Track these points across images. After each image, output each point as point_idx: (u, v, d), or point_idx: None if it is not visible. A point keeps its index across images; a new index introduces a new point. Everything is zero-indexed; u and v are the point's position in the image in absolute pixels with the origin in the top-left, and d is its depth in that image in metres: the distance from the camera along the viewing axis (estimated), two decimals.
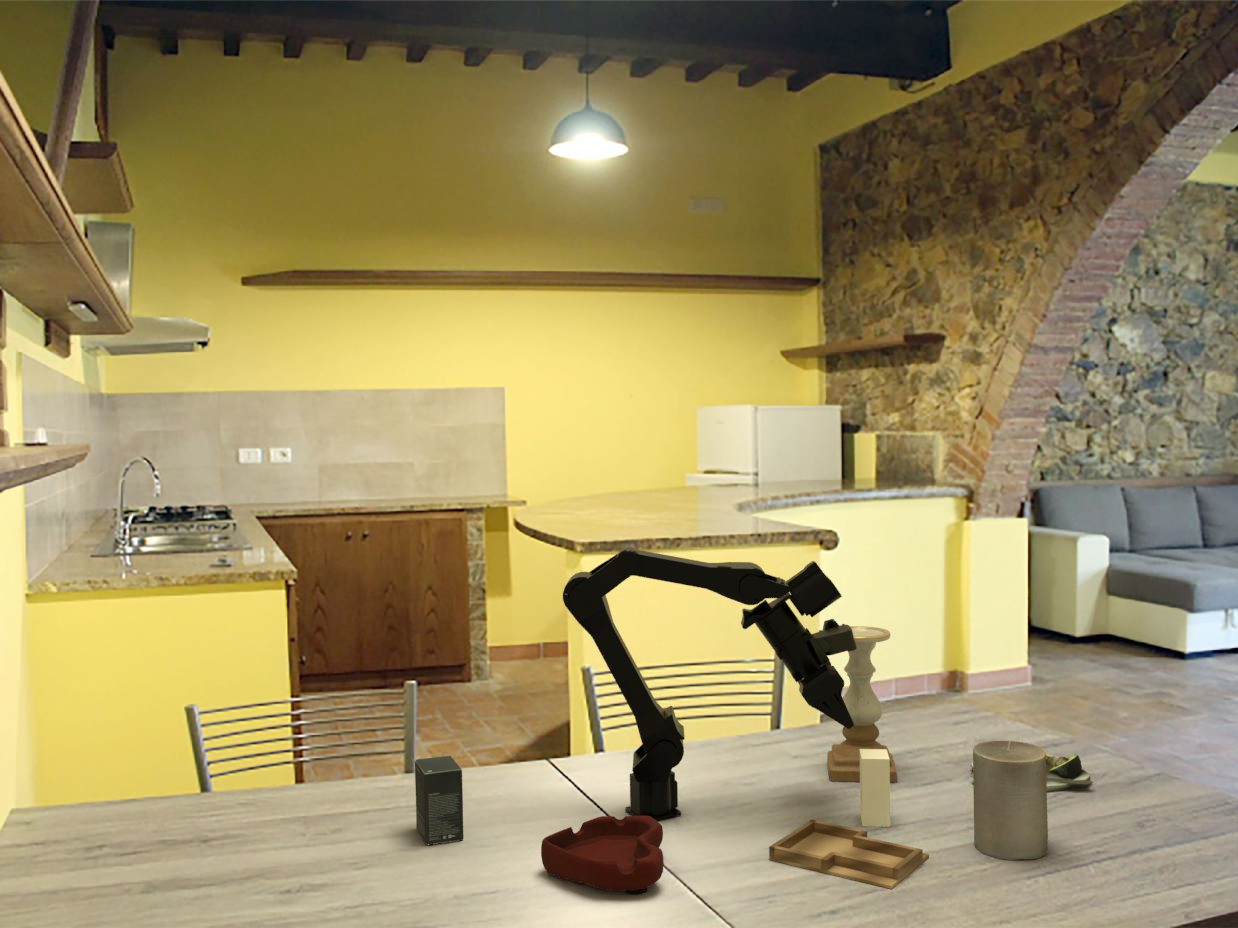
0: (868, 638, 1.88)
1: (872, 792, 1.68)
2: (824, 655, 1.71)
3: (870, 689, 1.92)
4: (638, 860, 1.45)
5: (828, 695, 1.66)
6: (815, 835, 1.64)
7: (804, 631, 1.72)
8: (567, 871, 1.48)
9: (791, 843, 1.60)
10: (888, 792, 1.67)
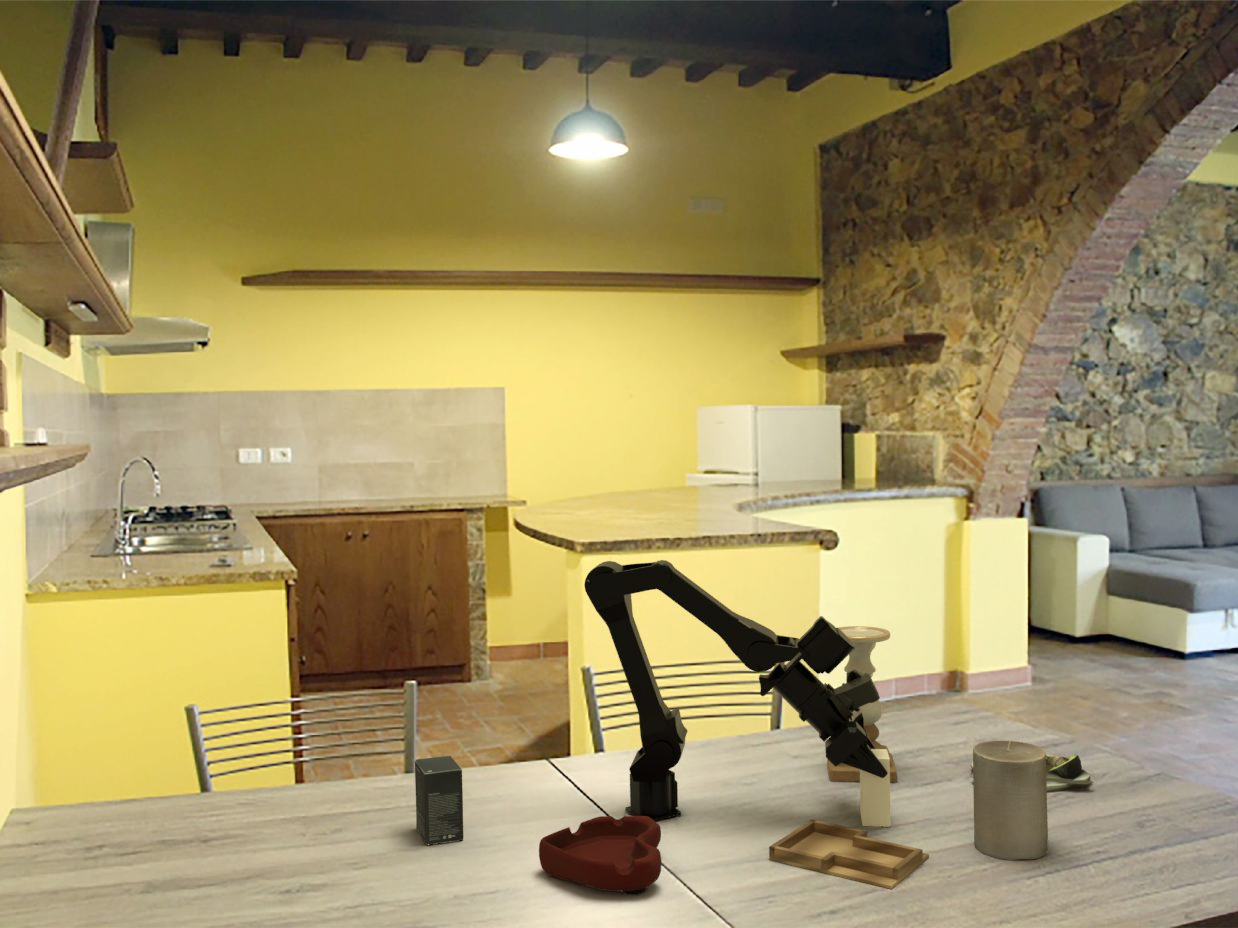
0: (868, 638, 1.88)
1: (872, 791, 1.68)
2: (847, 710, 1.67)
3: None
4: (636, 860, 1.45)
5: None
6: (815, 835, 1.64)
7: (823, 689, 1.69)
8: (565, 871, 1.48)
9: (791, 843, 1.60)
10: (888, 792, 1.67)
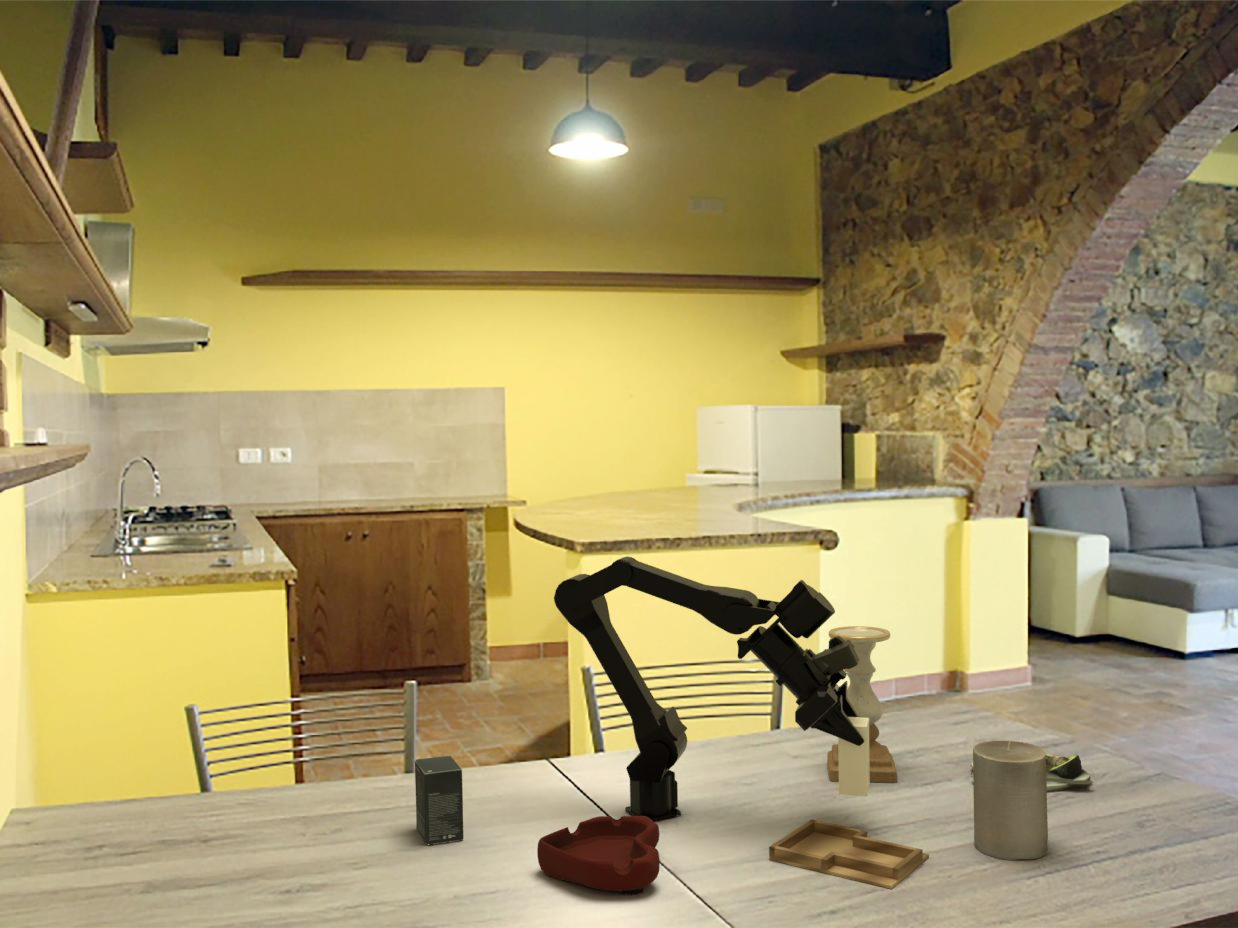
0: (868, 638, 1.88)
1: (848, 759, 1.64)
2: (823, 676, 1.64)
3: (870, 689, 1.92)
4: (634, 860, 1.45)
5: (825, 714, 1.61)
6: (815, 835, 1.64)
7: (801, 653, 1.67)
8: (563, 871, 1.48)
9: (791, 843, 1.60)
10: (865, 760, 1.64)
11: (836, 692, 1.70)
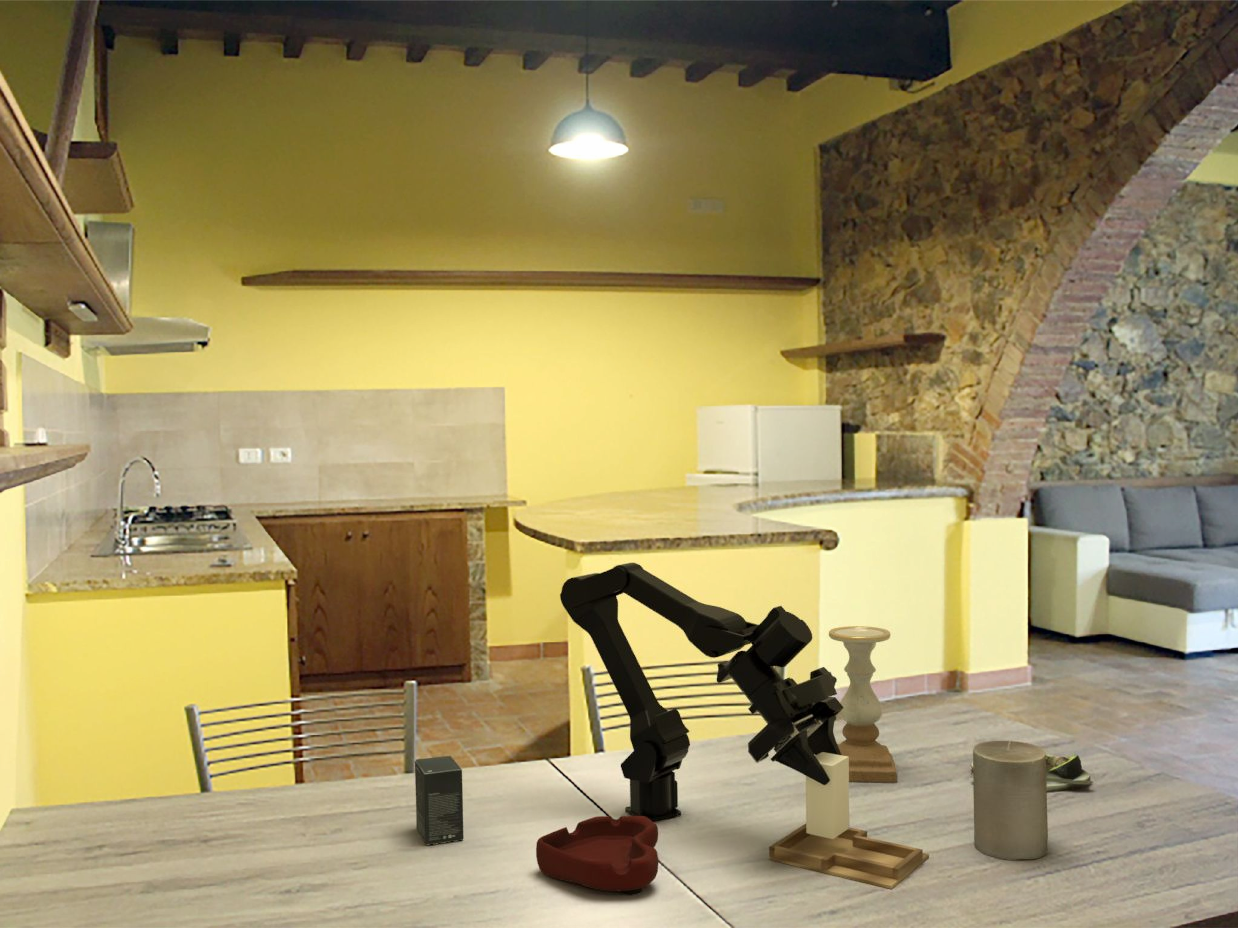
0: (868, 638, 1.88)
1: (815, 798, 1.56)
2: (790, 708, 1.57)
3: (870, 689, 1.92)
4: (633, 860, 1.45)
5: (783, 748, 1.54)
6: (815, 835, 1.64)
7: (774, 682, 1.60)
8: (562, 871, 1.48)
9: (791, 843, 1.60)
10: (831, 801, 1.54)
11: (819, 726, 1.62)
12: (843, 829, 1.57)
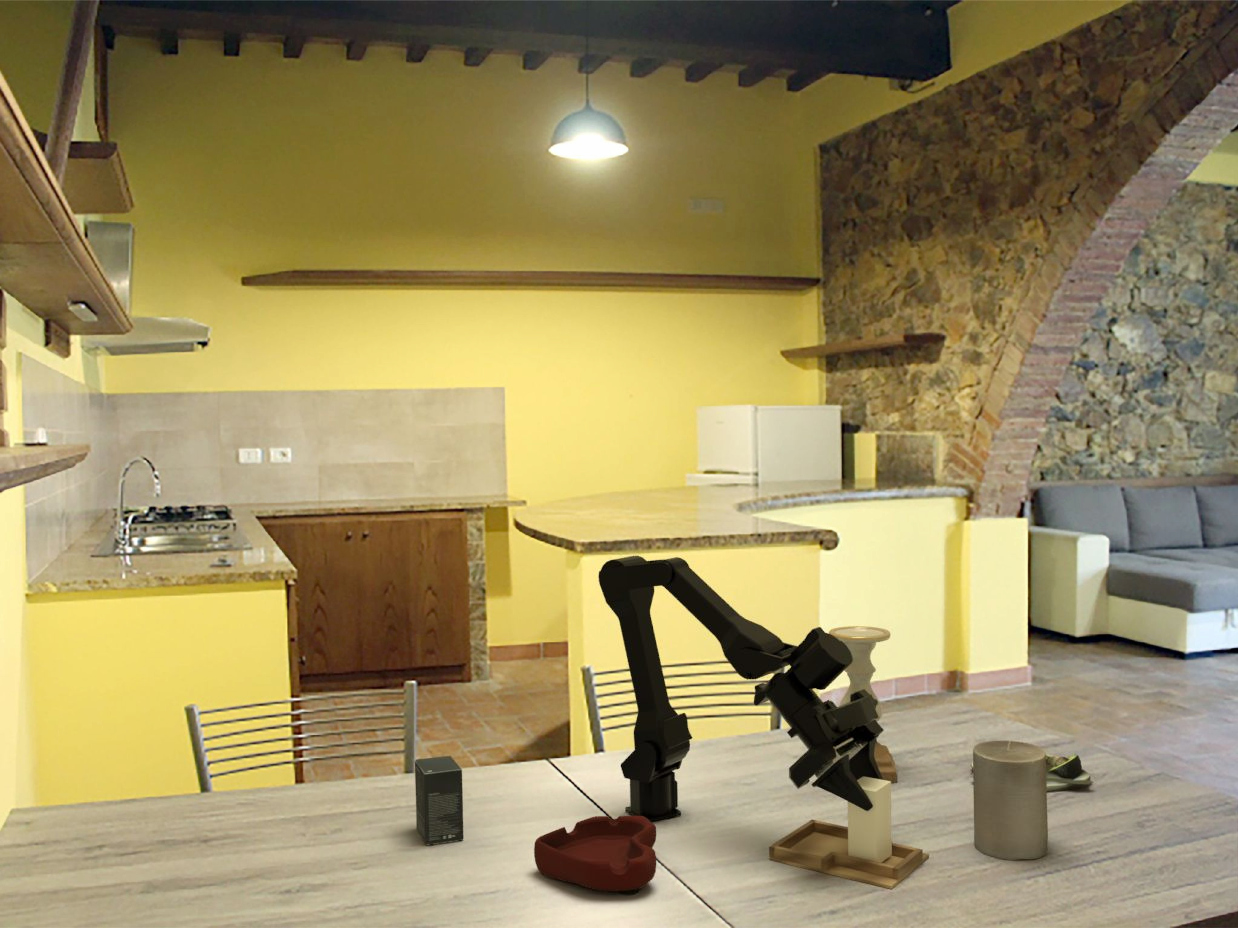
0: (868, 638, 1.88)
1: (858, 824, 1.52)
2: (831, 732, 1.54)
3: (870, 689, 1.92)
4: (631, 860, 1.45)
5: (825, 773, 1.51)
6: (815, 835, 1.64)
7: (814, 705, 1.57)
8: (560, 871, 1.48)
9: (791, 843, 1.60)
10: (874, 828, 1.51)
11: (860, 749, 1.58)
12: (886, 856, 1.54)
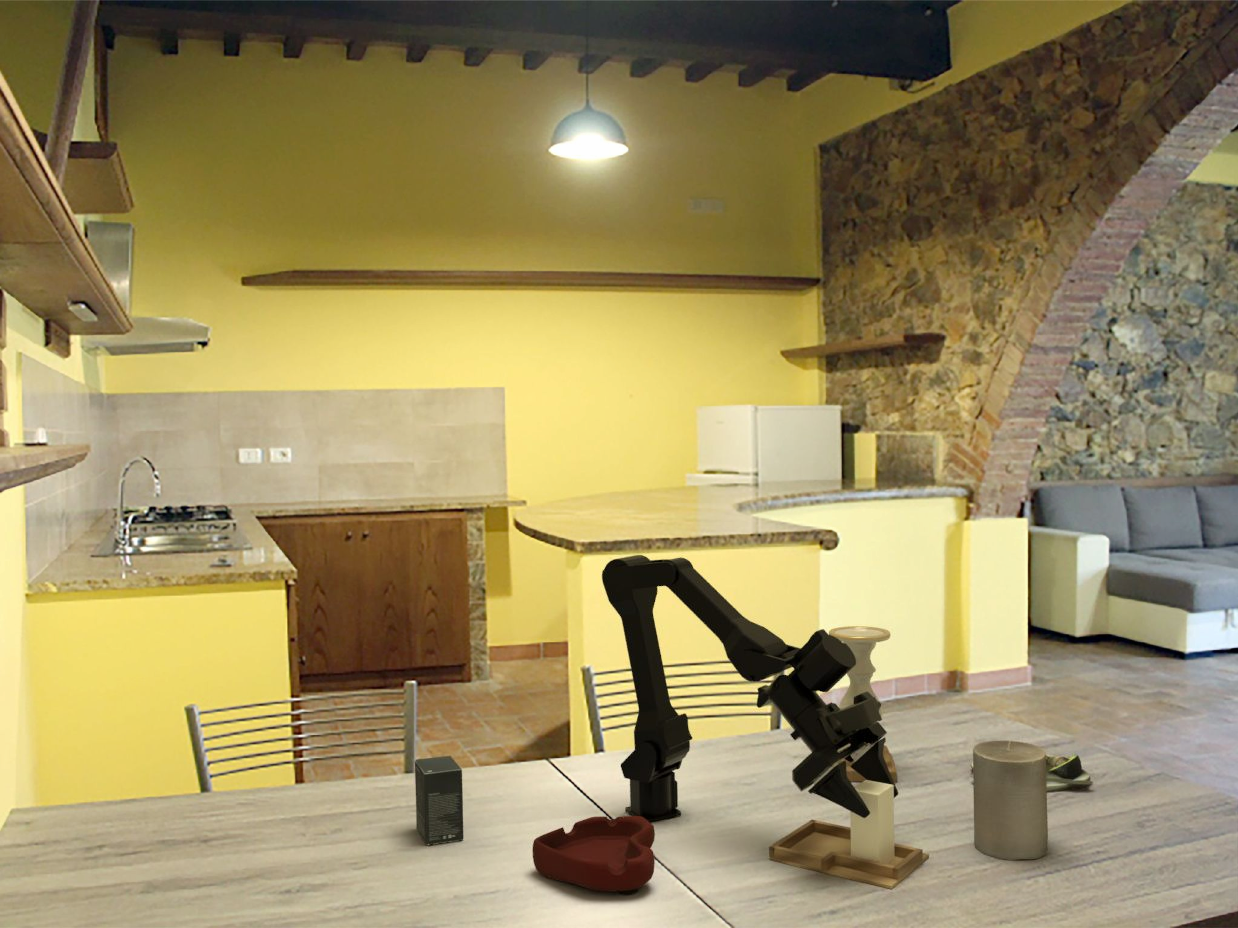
0: (868, 638, 1.88)
1: (860, 828, 1.52)
2: (834, 734, 1.53)
3: (870, 689, 1.92)
4: (629, 861, 1.45)
5: (821, 780, 1.49)
6: (815, 835, 1.64)
7: (817, 708, 1.56)
8: (558, 871, 1.48)
9: (791, 843, 1.60)
10: (877, 831, 1.51)
11: (869, 748, 1.59)
12: (889, 859, 1.53)
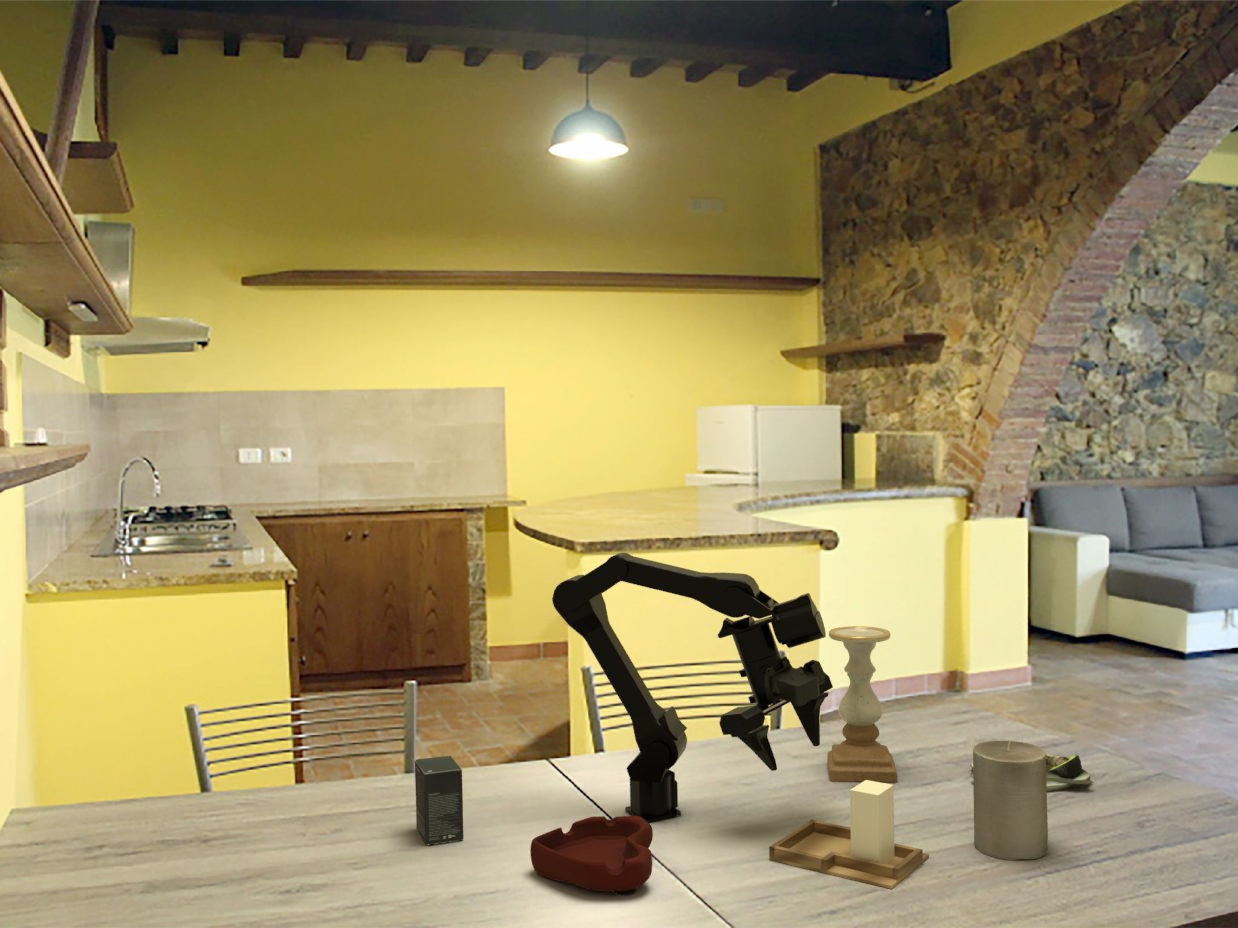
0: (868, 638, 1.88)
1: (860, 828, 1.52)
2: (771, 695, 1.66)
3: (870, 689, 1.92)
4: (626, 861, 1.45)
5: (742, 734, 1.65)
6: (815, 835, 1.64)
7: (767, 663, 1.67)
8: (556, 871, 1.48)
9: (791, 843, 1.60)
10: (877, 831, 1.51)
11: None
12: (889, 859, 1.53)
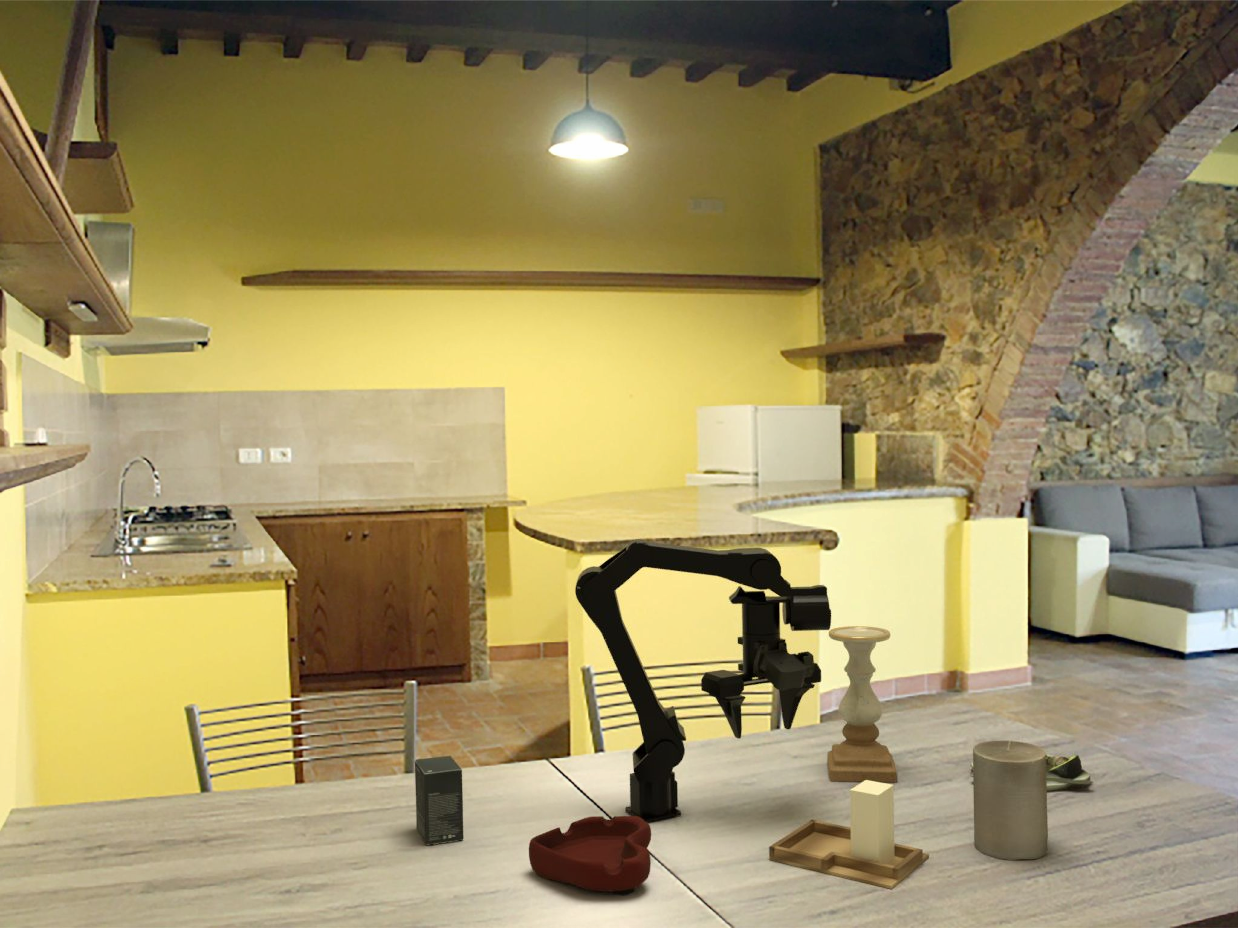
0: (868, 638, 1.88)
1: (860, 828, 1.52)
2: (757, 670, 1.71)
3: (870, 689, 1.92)
4: (625, 861, 1.45)
5: (718, 696, 1.71)
6: (815, 835, 1.64)
7: (764, 640, 1.72)
8: (554, 871, 1.48)
9: (791, 843, 1.60)
10: (877, 831, 1.51)
11: None
12: (889, 859, 1.53)
